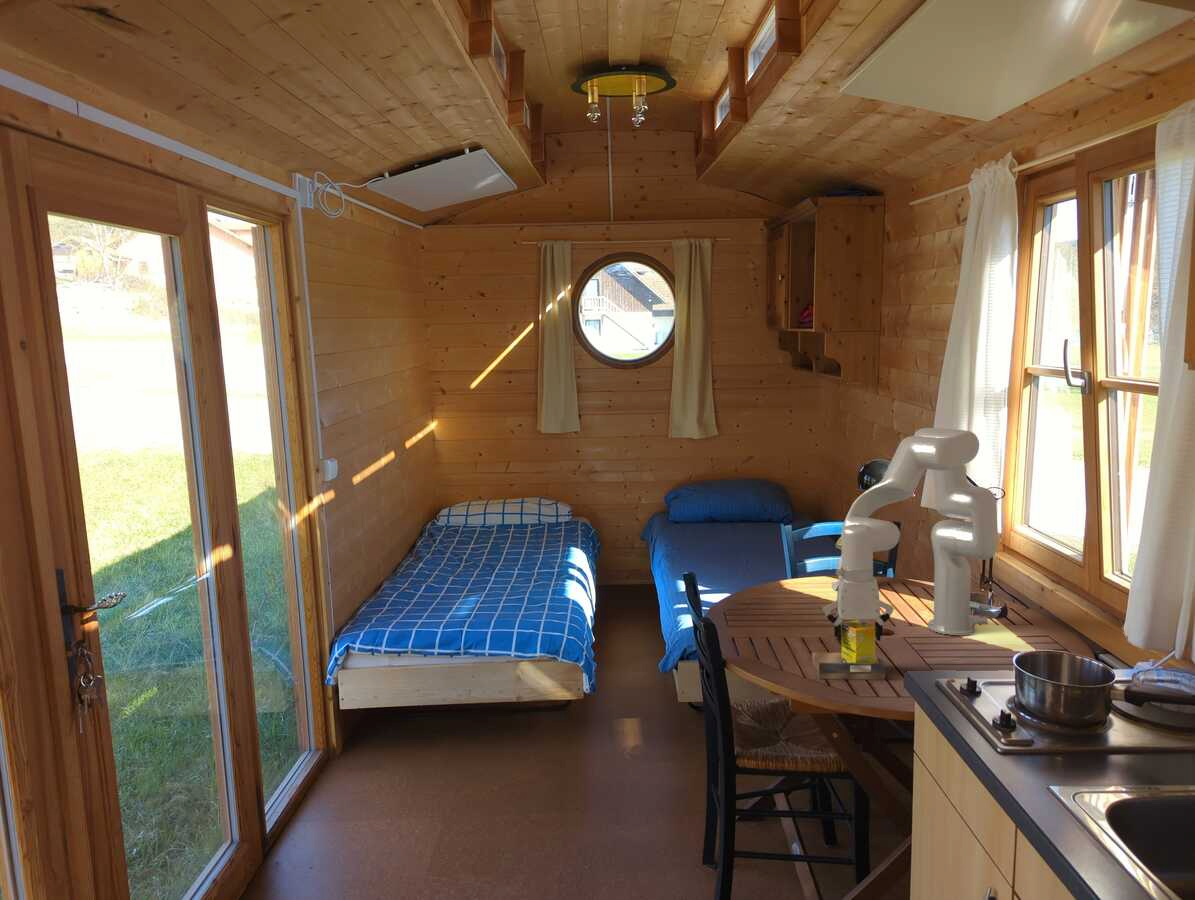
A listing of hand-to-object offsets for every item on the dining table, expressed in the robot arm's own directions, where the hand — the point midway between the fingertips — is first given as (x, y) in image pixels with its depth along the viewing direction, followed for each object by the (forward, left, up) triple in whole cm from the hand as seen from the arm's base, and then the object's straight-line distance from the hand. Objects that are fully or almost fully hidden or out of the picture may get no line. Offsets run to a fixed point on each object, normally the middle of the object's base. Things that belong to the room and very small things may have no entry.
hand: (858, 638), depth 220 cm
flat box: (+2, -2, -9) cm, 9 cm away
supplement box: (0, 0, -7) cm, 7 cm away
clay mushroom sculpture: (-11, -72, -9) cm, 73 cm away
